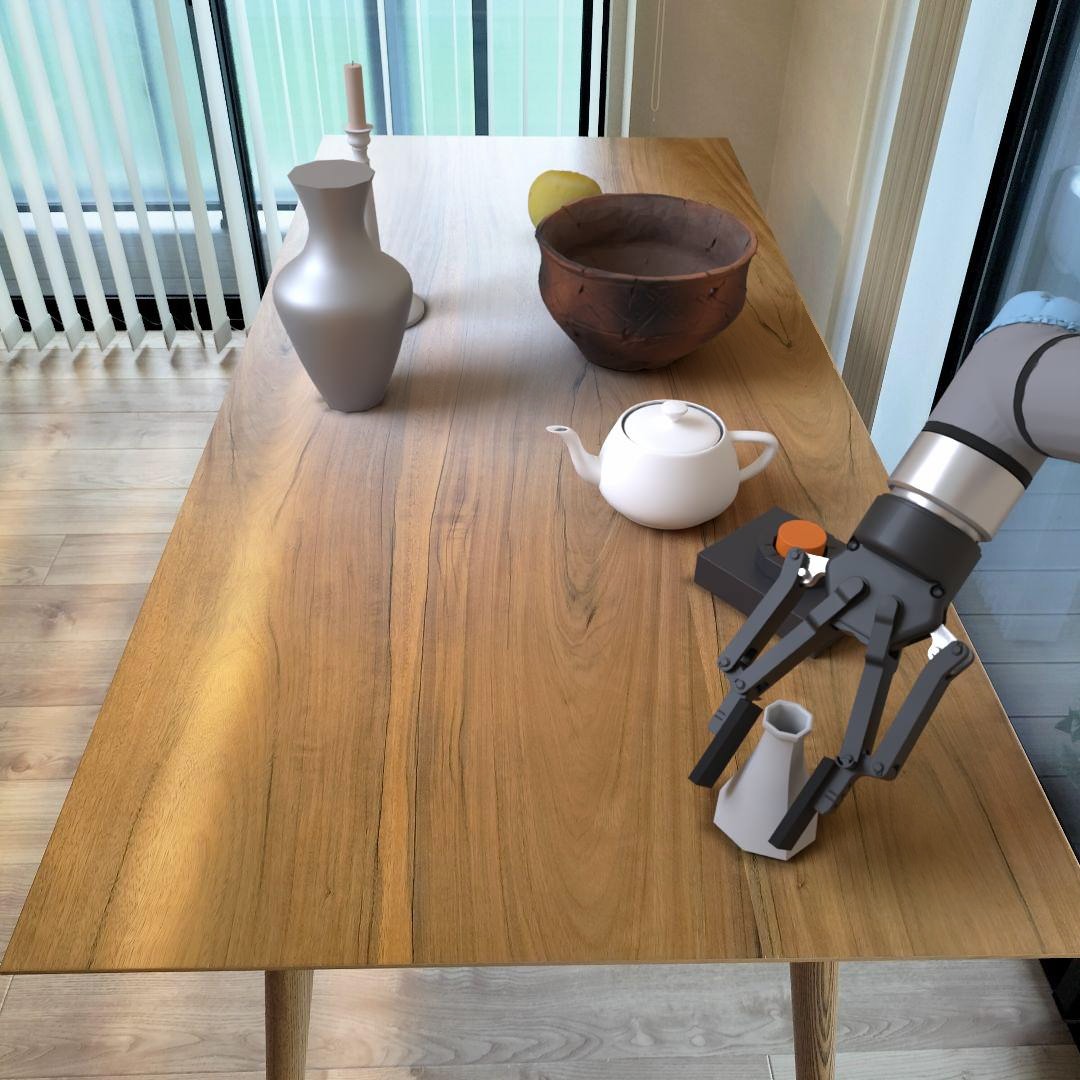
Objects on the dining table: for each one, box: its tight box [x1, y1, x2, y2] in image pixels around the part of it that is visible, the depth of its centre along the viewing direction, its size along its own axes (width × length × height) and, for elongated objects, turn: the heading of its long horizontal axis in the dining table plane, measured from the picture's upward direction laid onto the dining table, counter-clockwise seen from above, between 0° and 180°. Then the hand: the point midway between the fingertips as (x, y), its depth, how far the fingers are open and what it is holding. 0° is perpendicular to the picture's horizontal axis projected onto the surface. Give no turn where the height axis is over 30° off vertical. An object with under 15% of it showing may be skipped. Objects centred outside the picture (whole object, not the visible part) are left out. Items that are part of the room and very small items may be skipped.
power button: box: [776, 519, 827, 558], centre depth 91 cm, size 4×4×2 cm
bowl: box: [534, 192, 759, 372], centre depth 125 cm, size 25×25×15 cm
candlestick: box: [341, 60, 425, 329], centre depth 128 cm, size 13×13×30 cm
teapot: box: [545, 399, 779, 531], centre depth 102 cm, size 22×14×11 cm, turn 93°
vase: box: [271, 158, 414, 413], centre depth 112 cm, size 14×14×25 cm
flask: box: [713, 698, 819, 861], centre depth 72 cm, size 7×7×10 cm
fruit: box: [527, 169, 603, 229], centre depth 154 cm, size 10×11×10 cm
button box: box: [693, 505, 847, 659], centre depth 93 cm, size 13×11×5 cm
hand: (738, 813), depth 71 cm, fingers open, 6 cm apart
